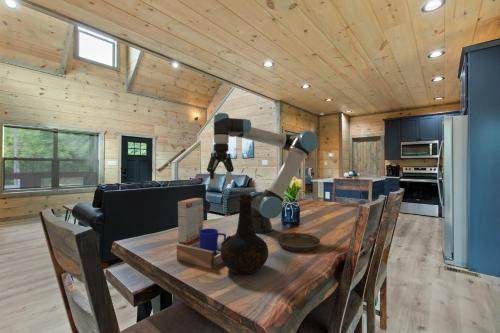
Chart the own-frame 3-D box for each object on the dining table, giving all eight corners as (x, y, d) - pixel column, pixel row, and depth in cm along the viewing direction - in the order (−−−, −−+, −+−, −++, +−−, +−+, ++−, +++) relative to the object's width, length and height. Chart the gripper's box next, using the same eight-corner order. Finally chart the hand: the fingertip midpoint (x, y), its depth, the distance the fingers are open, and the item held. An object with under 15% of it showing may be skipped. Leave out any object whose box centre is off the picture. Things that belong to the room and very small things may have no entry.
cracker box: (195, 235, 133) (195, 197, 133) (203, 236, 130) (203, 198, 130) (177, 242, 120) (177, 200, 120) (186, 244, 118) (186, 201, 118)
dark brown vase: (225, 258, 99) (225, 191, 99) (269, 260, 97) (268, 191, 97) (215, 278, 81) (215, 196, 81) (267, 281, 80) (267, 197, 80)
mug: (222, 258, 99) (222, 234, 99) (195, 256, 102) (195, 232, 102) (228, 251, 107) (228, 229, 107) (203, 249, 110) (203, 227, 110)
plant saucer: (311, 257, 102) (311, 249, 102) (269, 248, 113) (269, 240, 113) (325, 243, 119) (325, 237, 119) (287, 237, 130) (287, 230, 130)
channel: (203, 247, 113) (203, 234, 113) (236, 254, 104) (236, 240, 104) (176, 259, 98) (176, 244, 98) (211, 268, 89) (211, 252, 89)
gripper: (228, 145, 136) (228, 183, 136) (199, 141, 114) (199, 186, 114) (240, 145, 132) (240, 183, 132) (211, 141, 111) (211, 186, 111)
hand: (221, 184), depth 123 cm, fingers open, 13 cm apart
